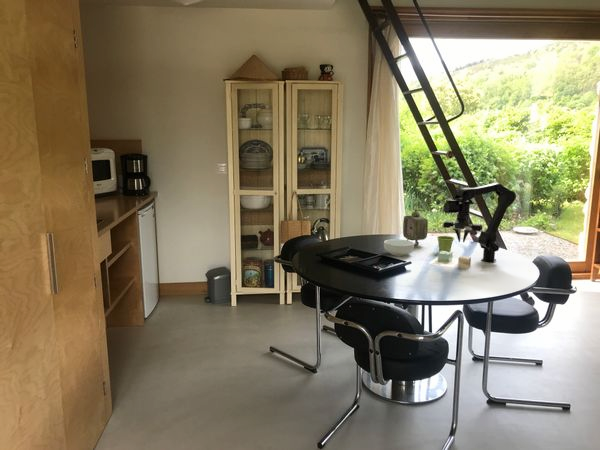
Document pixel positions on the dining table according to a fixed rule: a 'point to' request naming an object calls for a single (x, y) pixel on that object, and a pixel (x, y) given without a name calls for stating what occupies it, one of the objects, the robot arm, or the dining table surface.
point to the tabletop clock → (415, 227)
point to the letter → (443, 263)
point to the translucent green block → (445, 256)
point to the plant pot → (445, 243)
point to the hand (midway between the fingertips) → (461, 242)
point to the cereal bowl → (398, 247)
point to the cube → (464, 262)
